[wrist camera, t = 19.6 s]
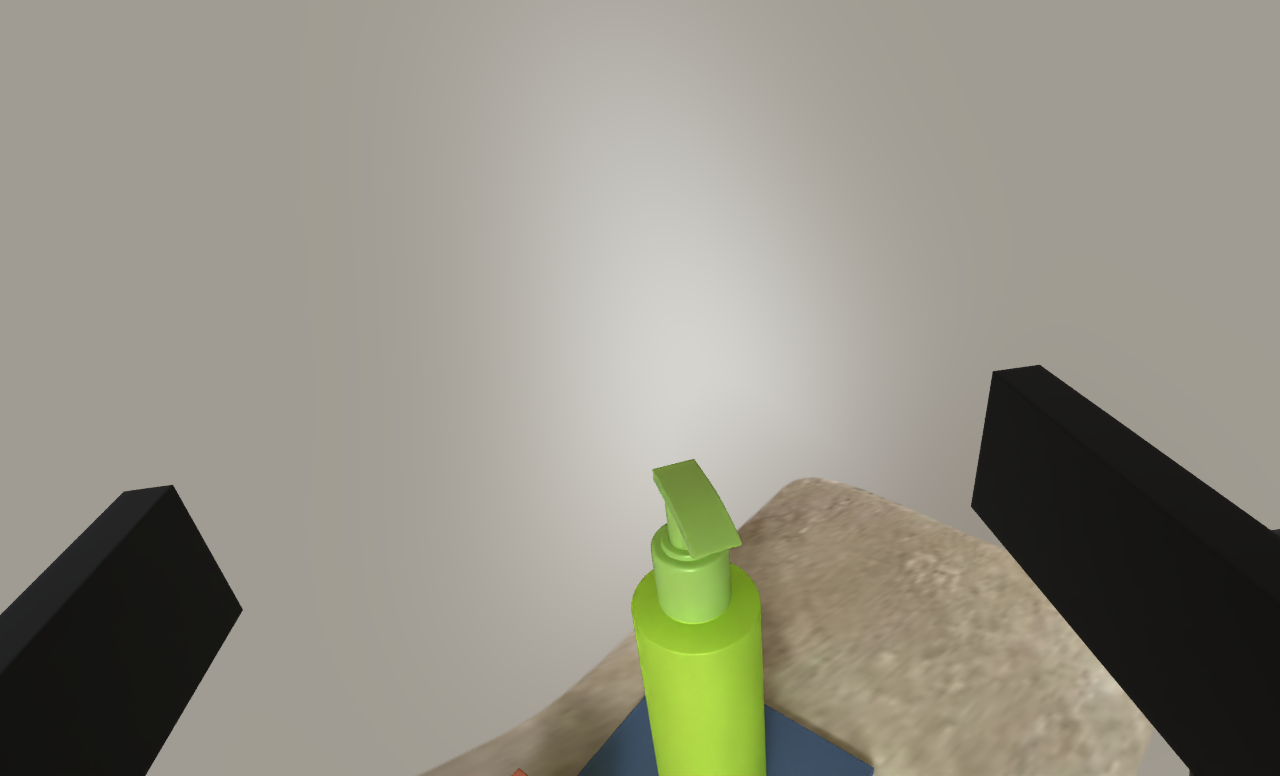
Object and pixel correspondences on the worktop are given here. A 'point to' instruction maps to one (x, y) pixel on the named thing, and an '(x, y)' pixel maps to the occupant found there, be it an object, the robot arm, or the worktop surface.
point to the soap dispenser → (700, 637)
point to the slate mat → (795, 757)
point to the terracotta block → (519, 773)
